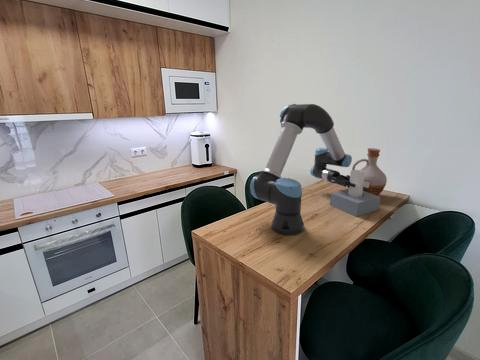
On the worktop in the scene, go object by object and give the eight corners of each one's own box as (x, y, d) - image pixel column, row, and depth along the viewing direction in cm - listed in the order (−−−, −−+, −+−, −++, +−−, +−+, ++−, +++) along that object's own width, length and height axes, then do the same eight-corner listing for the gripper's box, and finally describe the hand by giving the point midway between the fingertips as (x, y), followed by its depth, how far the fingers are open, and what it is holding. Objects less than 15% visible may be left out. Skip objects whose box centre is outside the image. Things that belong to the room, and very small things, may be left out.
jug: (349, 199, 153) (354, 150, 144) (349, 190, 169) (354, 145, 160) (385, 203, 146) (393, 152, 137) (382, 193, 161) (389, 147, 153)
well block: (356, 216, 130) (357, 203, 128) (329, 205, 145) (330, 192, 143) (378, 209, 138) (380, 196, 135) (351, 199, 153) (352, 187, 151)
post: (354, 204, 137) (358, 172, 132) (347, 201, 142) (350, 170, 136) (361, 202, 140) (364, 171, 134) (353, 199, 144) (357, 169, 139)
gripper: (341, 179, 158) (375, 190, 138) (319, 184, 150) (352, 196, 130) (342, 168, 156) (376, 177, 136) (320, 172, 148) (353, 182, 128)
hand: (364, 186), depth 133 cm, fingers closed on post, 5 cm apart
